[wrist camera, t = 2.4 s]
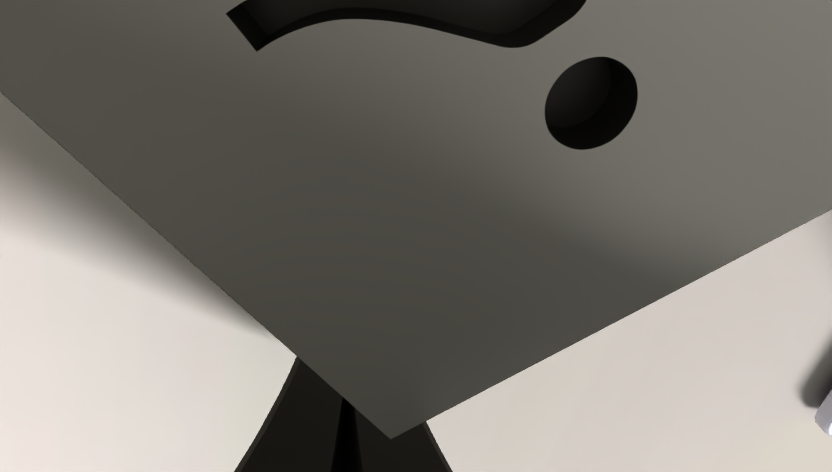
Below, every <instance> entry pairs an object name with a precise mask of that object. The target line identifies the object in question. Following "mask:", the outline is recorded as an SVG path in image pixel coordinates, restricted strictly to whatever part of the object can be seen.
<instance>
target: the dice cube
mask: <svg viewBox="0 0 832 472" xmlns="http://www.w3.org/2000/svg"><path fill="white" fill-rule="evenodd" d="M0 92H1V93H2V94H3V95H4V96H6V97H7V98H8V99H9V100H10V101H11V102H12V103H13V104H15V105H16V106H17V107H18V108H19V109H20V110H21V111H22V112H24V113H25V114H26V115H27V116H28V117H29V118H30V119H31V120H33V121H34V122H35V123H36V124H37V125H38V126H39V127H40V128H42V129H43V130H44V131H45V132H46V133H47V134H48V135H49V136H50V137H52V138H53V139H54V140H55V141H56V142H57V143H58V144H59V145H61V146H62V147H63V148H64V149H65V150H66V151H67V152H68V153H70V154H71V155H72V156H73V157H74V158H75V159H76V160H77V161H79V162H80V163H81V164H82V165H83V166H84V167H85V168H86V169H88V170H89V171H90V172H91V173H92V174H93V175H94V176H95V177H97V178H98V179H99V180H100V181H101V182H102V183H103V184H104V185H106V186H107V187H108V188H109V189H110V190H111V191H112V192H113V193H114V194H116V195H117V196H118V197H119V198H120V199H121V200H122V201H123V202H125V203H126V204H127V205H128V206H129V207H130V208H131V209H132V210H134V211H135V212H136V213H137V214H138V215H139V216H140V217H141V218H143V219H144V220H145V221H146V222H147V223H148V224H149V225H150V226H152V227H153V228H154V229H155V230H156V231H157V232H158V233H159V234H161V235H162V236H163V237H164V238H165V239H166V240H167V241H168V242H170V243H171V244H172V245H173V246H174V247H175V248H176V249H177V250H178V251H180V252H181V253H182V254H183V255H184V256H185V257H186V258H187V259H189V260H190V261H191V262H192V263H193V264H194V265H195V266H196V267H198V268H199V269H200V270H201V271H202V272H203V273H204V274H205V275H207V276H208V277H209V278H210V279H211V280H212V281H213V282H214V283H216V284H217V285H218V286H219V287H220V288H221V289H222V290H223V291H225V292H226V293H227V294H228V295H229V296H230V297H231V298H232V299H234V300H235V301H236V302H237V303H238V304H239V305H240V306H241V307H242V308H244V309H245V310H246V311H247V312H248V313H249V314H250V315H251V316H253V317H254V318H255V319H256V320H257V321H258V322H259V323H260V324H262V325H263V326H264V327H265V328H266V329H267V330H268V331H269V332H271V333H272V334H273V335H274V336H275V337H276V338H277V339H278V340H280V341H281V342H282V343H283V344H284V345H285V346H286V347H287V348H289V349H290V350H291V351H292V352H293V353H294V354H295V355H296V356H298V357H299V358H300V359H301V360H302V361H303V362H304V363H305V364H307V365H308V366H309V367H310V368H311V369H312V370H313V371H314V372H315V373H317V374H318V375H319V376H320V377H321V378H322V379H323V380H324V381H326V382H327V383H328V384H329V385H330V386H331V387H332V388H333V389H335V390H336V391H337V392H338V393H339V394H340V395H341V396H342V397H344V398H345V399H346V400H347V401H348V402H349V403H350V404H351V405H353V406H354V407H355V408H356V409H357V410H358V411H359V412H360V413H362V414H363V415H364V416H365V417H366V418H367V419H368V420H369V421H371V422H372V423H373V424H374V425H375V426H376V427H377V428H378V429H379V430H381V431H382V432H383V433H384V434H385V435H386V436H387V437H388V438H390V439H392V438H394V437H396V436H398V435H400V434H402V433H404V432H406V431H408V430H410V429H411V428H413V427H415V426H417V425H419V424H421V423H423V422H425V421H427V420H429V419H431V418H433V417H434V416H436V415H438V414H440V413H442V412H444V411H446V410H448V409H450V408H452V407H454V406H456V405H457V404H459V403H461V402H463V401H465V400H467V399H469V398H471V397H473V396H475V395H477V394H479V393H480V392H482V391H484V390H486V389H488V388H490V387H492V386H494V385H496V384H498V383H500V382H502V381H503V380H505V379H507V378H509V377H511V376H513V375H515V374H517V373H519V372H521V371H523V370H525V369H526V368H528V367H530V366H532V365H534V364H536V363H538V362H540V361H542V360H544V359H546V358H548V357H549V356H551V355H553V354H555V353H557V352H559V351H561V350H563V349H565V348H567V347H569V346H571V345H572V344H574V343H576V342H578V341H580V340H582V339H584V338H586V337H588V336H590V335H592V334H594V333H596V332H597V331H599V330H601V329H603V328H605V327H607V326H609V325H611V324H613V323H615V322H617V321H619V320H620V319H622V318H624V317H626V316H628V315H630V314H632V313H634V312H636V311H638V310H640V309H642V308H643V307H645V306H647V305H649V304H651V303H653V302H655V301H657V300H659V299H661V298H663V297H665V296H666V295H668V294H670V293H672V292H674V291H676V290H678V289H680V288H682V287H684V286H686V285H688V284H689V283H691V282H693V281H695V280H697V279H699V278H701V277H703V276H705V275H707V274H709V273H711V272H712V271H714V270H716V269H718V268H720V267H722V266H724V265H726V264H728V263H730V262H732V261H734V260H735V259H737V258H739V257H741V256H743V255H745V254H747V253H749V252H751V251H753V250H755V249H757V248H758V247H760V246H762V245H764V244H766V243H768V242H770V241H772V240H774V239H776V238H778V237H780V236H781V235H783V234H785V233H787V232H789V231H791V230H793V229H795V228H797V227H799V226H801V225H803V224H804V223H806V222H808V221H810V220H812V219H814V218H816V217H818V216H820V215H822V214H824V213H826V212H827V211H829V210H831V209H832V0H0Z"/></svg>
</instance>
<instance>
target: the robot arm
mask: <svg viewBox="0 0 832 472" xmlns="http://www.w3.org/2000/svg"><path fill="white" fill-rule="evenodd" d="M815 422H816V423H817V424H818V425H819V427H820V428H821V429H822V430H823V431H824V432H825V433H826V434H827V435H828V436H831V437H832V390H831V391H830V392H829V394H828V395H827V397H826V398H825V400H824V401H823V402H822V404H821V405H820V407H819V408H818V410H817V412H816V414H815ZM234 472H453V471H452V470H451V468H450V466H449V464H448V463H447V461H446V459H445V457H444V455H443V453H442V452H441V450H440V448H439V446H438V444H437V442H436V440H435V438H434V436H433V434H432V432H431V430H430V428H429V426H428V424H427V422H426V421H425V422H423V423H421V424H419V425H417V426H415V427H413V428H411V429H410V430H408V431H406V432H404V433H402V434H400V435H398V436H396V437H394V438H392V439H390V438H388V437H387V436H386V435H385V434H384V433H383V432H382V431H381V430H379V429H378V428H377V427H376V426H375V425H374V424H373V423H372V422H371V421H369V420H368V419H367V418H366V417H365V416H364V415H363V414H362V413H360V412H359V411H358V410H357V409H356V408H355V407H354V406H353V405H351V404H350V403H349V402H348V401H347V400H346V399H345V398H344V397H342V396H341V395H340V394H339V393H338V392H337V391H336V390H335V389H333V388H332V387H331V386H330V385H329V384H328V383H327V382H326V381H324V380H323V379H322V378H321V377H320V376H319V375H318V374H317V373H315V372H314V371H313V370H312V369H311V368H310V367H309V366H308V365H307V364H305V363H304V362H303V361H302V360H301V359H300V358H299V357H298V356H297V357H296V359H295V362H294V364H293V366H292V368H291V371H290V373H289V375H288V377H287V379H286V381H285V383H284V385H283V387H282V390H281V392H280V394H279V395H278V397H277V399H276V401H275V403H274V405H273V406H272V408H271V410H270V412H269V414H268V416H267V417H266V419H265V421H264V423H263V425H262V427H261V429H260V430H259V432H258V434H257V436H256V437H255V439H254V441H253V442H252V444H251V446H250V447H249V449H248V450H247V452H246V454H245V455H244V457H243V458H242V460H241V462H240V463H239V465H238V466H237V468H236V470H235V471H234Z"/></svg>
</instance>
